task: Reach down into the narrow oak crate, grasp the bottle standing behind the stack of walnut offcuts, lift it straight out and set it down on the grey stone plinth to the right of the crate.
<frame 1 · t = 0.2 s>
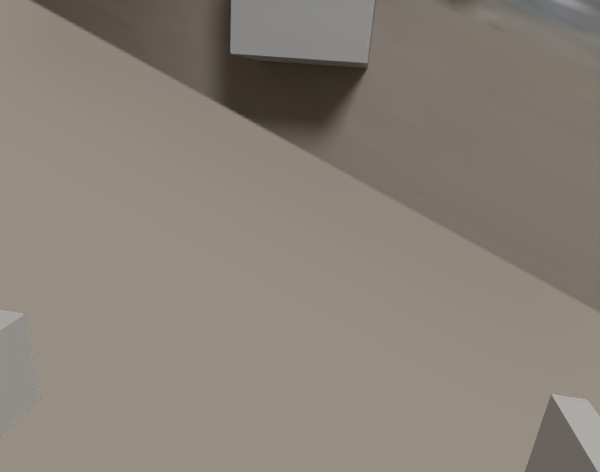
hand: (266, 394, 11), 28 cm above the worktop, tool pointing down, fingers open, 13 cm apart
stone plinth: (316, 1, 32), on the worktop
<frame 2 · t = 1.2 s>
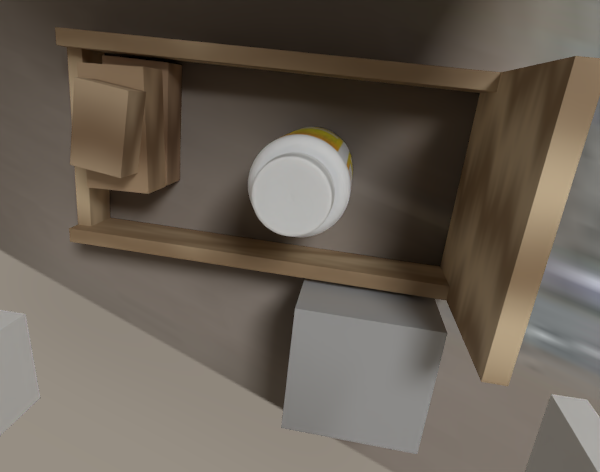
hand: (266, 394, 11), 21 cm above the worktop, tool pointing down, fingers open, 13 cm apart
stone plinth: (359, 327, 33), on the worktop
oak crate: (244, 157, 30), on the worktop
offcut block: (117, 127, 26), point 5 cm above the worktop, touching offcut slab top
offcut slab top: (134, 128, 28), point 2 cm above the worktop, touching offcut block, offcut slab low
offcut slab low: (153, 121, 31), on the worktop, touching offcut slab top
supplement bottle: (314, 166, 30), on the worktop
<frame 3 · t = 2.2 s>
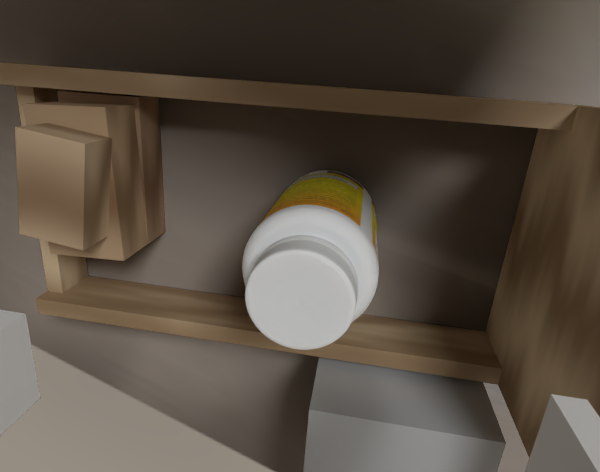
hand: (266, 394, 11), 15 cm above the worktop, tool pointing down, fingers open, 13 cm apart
stone plinth: (385, 398, 28), on the worktop
oak crate: (242, 206, 25), on the worktop
offcut block: (79, 181, 21), point 5 cm above the worktop
offcut slab top: (105, 175, 23), point 2 cm above the worktop, touching offcut slab low
offcut slab low: (129, 163, 25), on the worktop, touching offcut slab top
supplement bottle: (327, 215, 24), on the worktop
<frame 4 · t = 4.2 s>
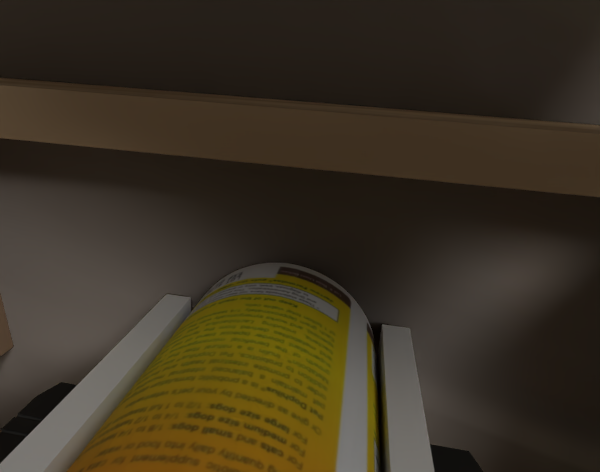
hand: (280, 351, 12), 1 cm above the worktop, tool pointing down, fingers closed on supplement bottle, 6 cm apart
oak crate: (133, 316, 14), on the worktop
supplement bottle: (286, 335, 13), on the worktop, touching gripper
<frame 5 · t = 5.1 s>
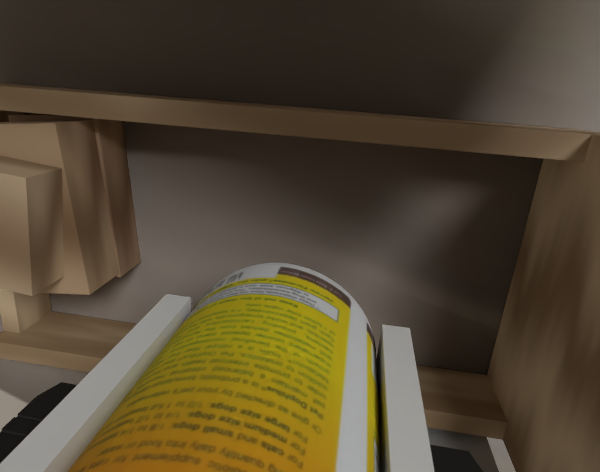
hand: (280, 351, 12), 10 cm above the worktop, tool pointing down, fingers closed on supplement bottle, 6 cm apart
stone plinth: (378, 446, 25), on the worktop
oak crate: (219, 238, 22), on the worktop
offcut block: (28, 217, 18), point 5 cm above the worktop, touching offcut slab top
offcut slab top: (67, 200, 21), point 2 cm above the worktop, touching offcut block, offcut slab low
offcut slab low: (97, 189, 23), on the worktop, touching offcut slab top
supplement bottle: (286, 335, 13), point 9 cm above the worktop, touching gripper
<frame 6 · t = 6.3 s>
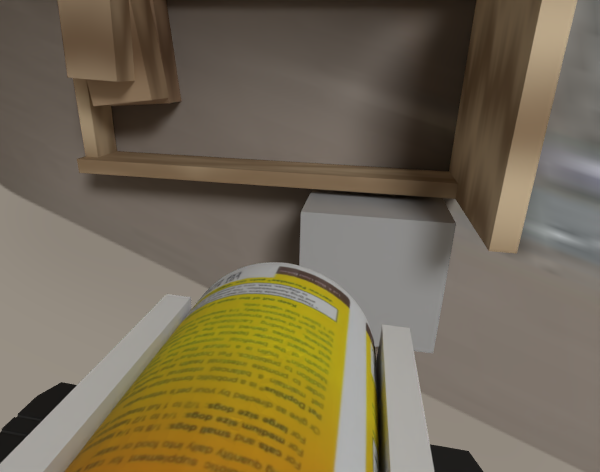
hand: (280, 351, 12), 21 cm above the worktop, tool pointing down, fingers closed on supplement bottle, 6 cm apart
stone plinth: (370, 243, 33), on the worktop
oak crate: (242, 74, 30), on the worktop
offcut block: (107, 35, 26), point 4 cm above the worktop, touching offcut slab top
offcut slab top: (128, 41, 28), point 2 cm above the worktop, touching offcut block, offcut slab low
offcut slab low: (146, 44, 31), on the worktop, touching offcut slab top
supplement bottle: (285, 335, 13), point 20 cm above the worktop, touching gripper
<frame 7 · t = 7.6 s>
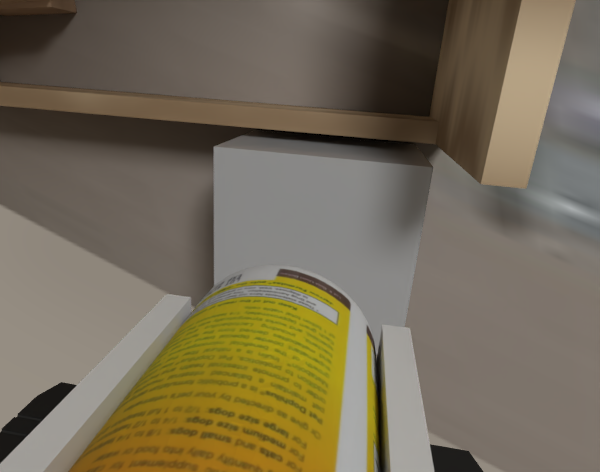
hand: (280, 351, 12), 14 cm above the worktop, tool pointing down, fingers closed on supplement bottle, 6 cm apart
stone plinth: (326, 213, 25), on the worktop
supplement bottle: (285, 337, 13), point 13 cm above the worktop, touching gripper
when the fingers open (9 cm above the worktop, at t = 8.6 s): supplement bottle drops 2 cm, resting on stone plinth.
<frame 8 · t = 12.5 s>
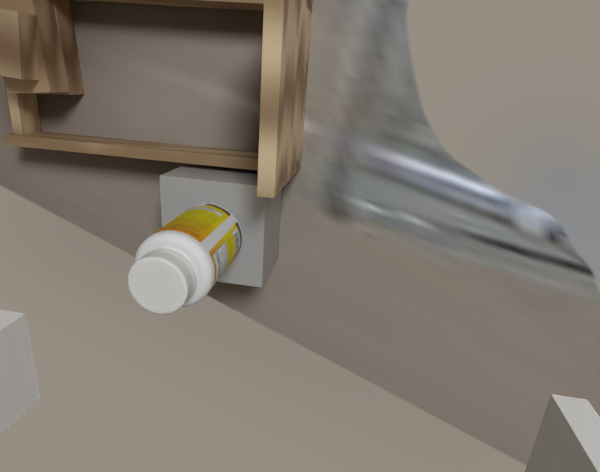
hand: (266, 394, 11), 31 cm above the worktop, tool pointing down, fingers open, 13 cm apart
stone plinth: (236, 210, 42), on the worktop
oak crate: (135, 75, 39), on the worktop
offcut block: (20, 45, 35), point 5 cm above the worktop, touching offcut slab top
offcut slab top: (40, 47, 38), point 2 cm above the worktop, touching offcut block, offcut slab low
offcut slab low: (58, 49, 40), on the worktop, touching offcut slab top
supplement bottle: (213, 232, 36), point 7 cm above the worktop, touching stone plinth
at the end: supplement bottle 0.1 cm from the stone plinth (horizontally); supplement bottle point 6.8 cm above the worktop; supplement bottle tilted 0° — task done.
